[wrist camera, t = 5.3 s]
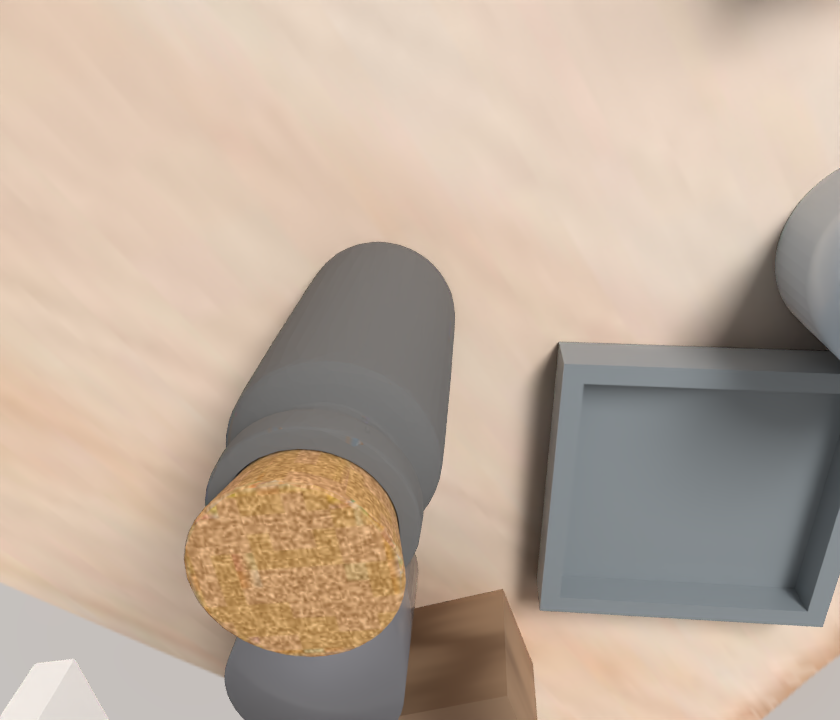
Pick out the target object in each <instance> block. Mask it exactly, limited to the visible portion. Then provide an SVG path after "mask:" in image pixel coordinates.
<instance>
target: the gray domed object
mask: <svg viewBox="0 0 840 720" xmlns="http://www.w3.org/2000/svg"><path fill="white" fill-rule="evenodd" d="M405 576H406V584H405V591H404V596H403V600H402V603H401V605H400V608H399V610H398V612H397V613H396V615H395V616H394V618H393V620H392V621H391V622H390V623H389V625H388V626H387V627H386V628H385V629H384V630H383V631H382V632H381V633H380V634H379V635H377V636H376V637H374V638H373V639H372V640H370V641H368V642H367V643H365V644H363V645H361V646H359V647H357V648H354V649H352V650H350V651H346V652H342V653H339V654H333V655H328V656H318V657H305V656H292V655H285V654H280V653H276V652H272V651H268V650H265V649H262V648H260V647H257V646H254V645H252V644H250V643H248V642H246V641H244V640H242V639H240V638H238V637H237V638H236V641H235V643H234V646H233V649H232V651H231V654H230V656H229V659H228V662H227V665H226V668H225V686H226V690H227V694H228V696H229V699H230V701H231V702H232V704H233V706H234V708H235V709H236V711H237V712H238V713H239V714H240V715H241V717H242V718H243V719H244V720H398V718H399V716H400V714H401V712H402V708H403V705H404V696H405V687H406V678H407V669H408V660H409V651H410V642H411V633H412V625H413V616H414V607H415V598H416V589H417V580H418V563H417V559H416V555H415V553H414V556H413V558H412V560H411V561H410V563H409V564H408V566H407V567H406V569H405Z"/></svg>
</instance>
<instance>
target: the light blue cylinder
mask: <svg viewBox="0 0 840 720" xmlns="http://www.w3.org/2000/svg"><path fill="white" fill-rule="evenodd" d="M775 275H776V282H777V286H778V289H779V293H780V295H781V297H782V299H783V301H784V303H785V305H786V306H787V307H788V309H789V310H790V312H791V313H792V314H793V315H794V316H795V317H796V318H797V319H798V320H799V321H800V322H801V323H802V324H803V325H804V326H805V327H806V328H807V329H808V330H809V331H810V332H811V333H812V334H813V335H815V336H816V337H817V338H818V339H819V340H820V341H821V342H822V343H823V344H824V345H825V346H826V347H827V348H828V349H829V350H830V351H831V352H832V353H833V354H834V355H835V356H836V357H837V358H838V359H839V360H840V168H839V169H838V170H836V171H834V172H833V173H831V174H830V175H828V176H827V177H826V178H824V179H823V180H821V181H820V182H819V183H818V184H817V185H816V186H815V187H813V188H812V189H811V190H810V191H809V192H808V193H807V194H806V195H805V197H804V198H803V199H802V200H801V201H800V202H799V204H798V205H797V206H796V208H795V209H794V210H793V212H792V214H791V215H790V217H789V219H788V220H787V222H786V224H785V226H784V229H783V231H782V233H781V236H780V239H779V242H778V246H777V251H776V257H775Z"/></svg>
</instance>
